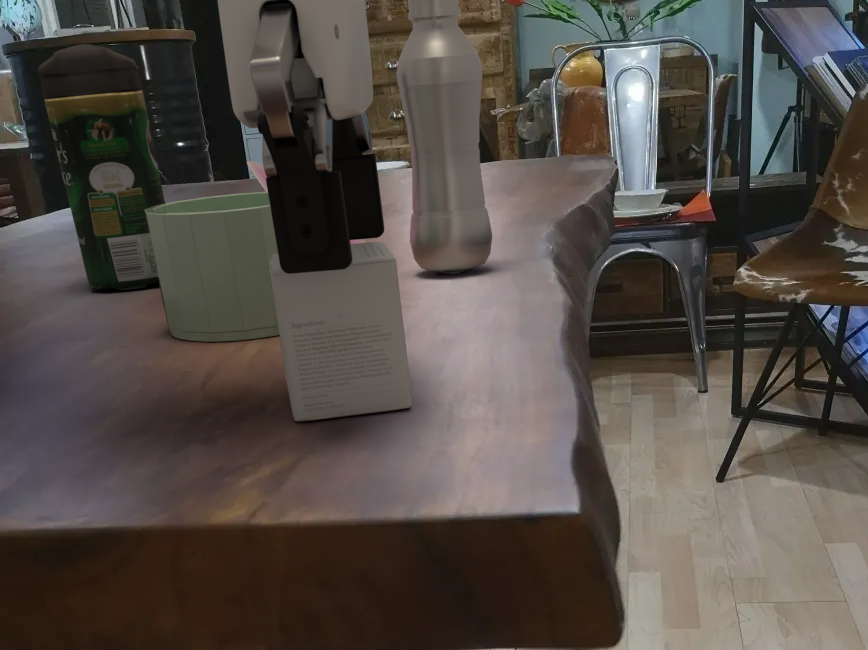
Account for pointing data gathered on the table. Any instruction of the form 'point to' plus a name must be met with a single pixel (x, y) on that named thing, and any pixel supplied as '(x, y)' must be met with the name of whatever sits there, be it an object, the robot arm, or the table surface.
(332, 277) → the white cardboard box
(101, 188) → the coffee jar
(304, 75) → the robot arm
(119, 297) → the table surface
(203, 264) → the green flower pot
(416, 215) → the plastic bottle
